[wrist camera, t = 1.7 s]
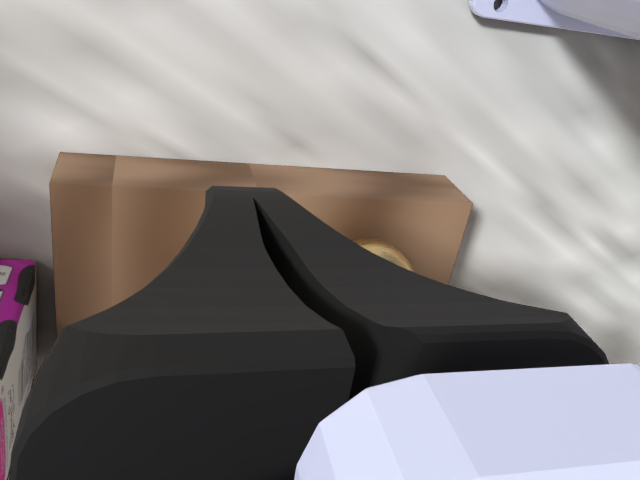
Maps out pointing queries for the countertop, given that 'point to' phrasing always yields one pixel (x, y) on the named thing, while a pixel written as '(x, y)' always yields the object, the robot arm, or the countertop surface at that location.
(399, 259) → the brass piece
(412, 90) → the countertop surface
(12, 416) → the candy bar box
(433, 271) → the brown square tray
